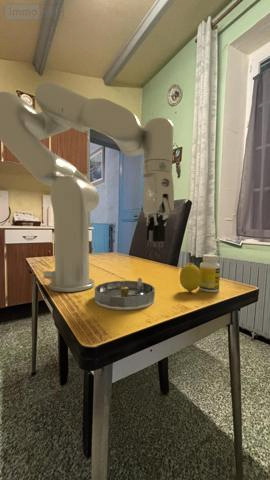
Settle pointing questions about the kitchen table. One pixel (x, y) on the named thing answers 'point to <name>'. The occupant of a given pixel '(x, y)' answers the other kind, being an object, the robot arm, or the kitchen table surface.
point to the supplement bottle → (210, 274)
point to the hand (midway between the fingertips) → (155, 240)
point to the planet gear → (153, 243)
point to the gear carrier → (124, 295)
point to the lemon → (190, 277)
